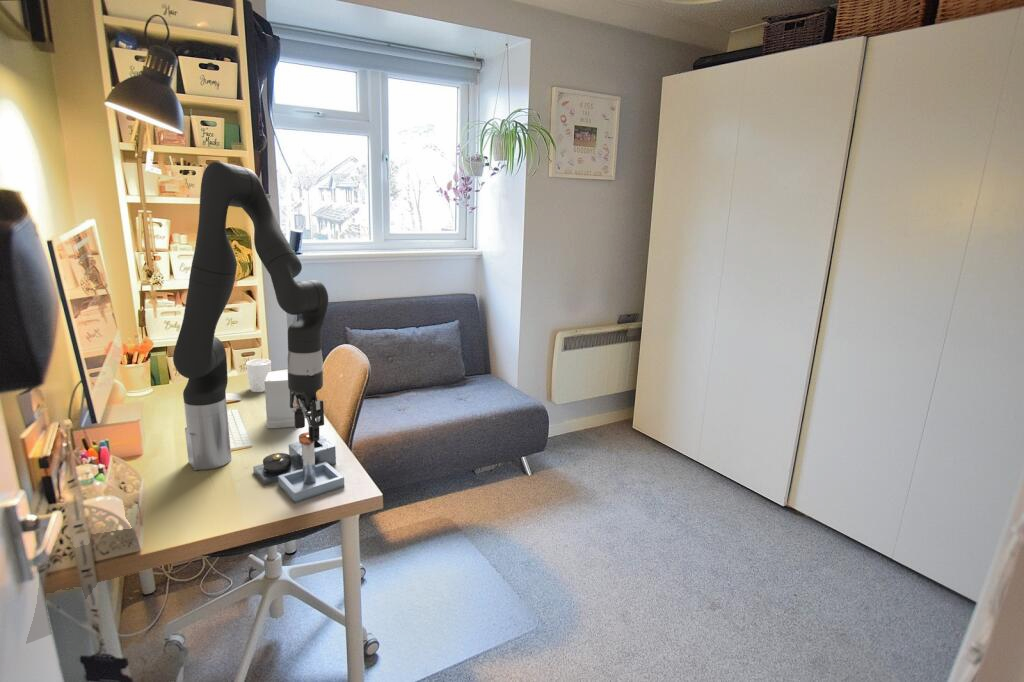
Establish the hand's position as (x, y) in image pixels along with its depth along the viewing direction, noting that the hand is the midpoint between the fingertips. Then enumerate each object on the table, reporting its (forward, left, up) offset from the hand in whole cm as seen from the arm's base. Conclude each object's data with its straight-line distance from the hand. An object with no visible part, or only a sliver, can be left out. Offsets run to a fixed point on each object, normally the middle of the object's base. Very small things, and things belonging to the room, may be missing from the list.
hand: (306, 434), depth 129 cm
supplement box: (+10, +41, -14) cm, 44 cm away
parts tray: (+1, 0, -14) cm, 14 cm away
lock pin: (+1, +1, -13) cm, 13 cm away
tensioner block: (+1, +11, -14) cm, 18 cm away
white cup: (+14, +74, -14) cm, 77 cm away
